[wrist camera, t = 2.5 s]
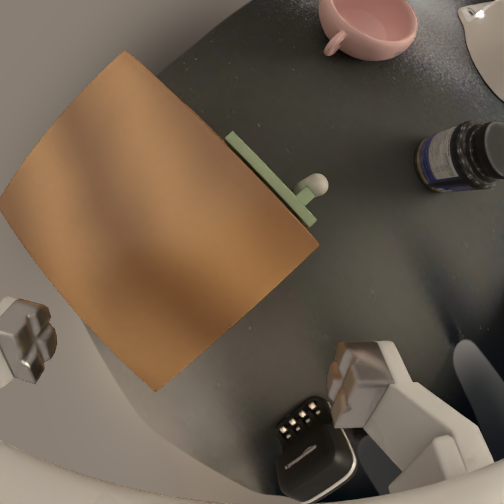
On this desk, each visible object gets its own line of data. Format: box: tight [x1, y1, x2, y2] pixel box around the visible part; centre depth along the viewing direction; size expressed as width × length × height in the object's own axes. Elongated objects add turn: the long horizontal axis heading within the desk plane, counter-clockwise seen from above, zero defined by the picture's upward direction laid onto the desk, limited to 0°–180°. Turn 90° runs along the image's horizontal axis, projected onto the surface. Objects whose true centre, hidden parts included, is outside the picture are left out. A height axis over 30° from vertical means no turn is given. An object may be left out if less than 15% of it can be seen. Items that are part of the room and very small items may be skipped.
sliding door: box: [225, 131, 328, 228], centre depth 22 cm, size 3×6×11 cm, turn 43°
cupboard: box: [0, 50, 320, 392], centre depth 22 cm, size 14×15×14 cm
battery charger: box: [275, 396, 358, 504], centre depth 26 cm, size 7×4×11 cm, turn 136°
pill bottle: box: [415, 121, 504, 192], centre depth 23 cm, size 6×6×11 cm
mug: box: [319, 0, 418, 61], centre depth 24 cm, size 12×10×6 cm
